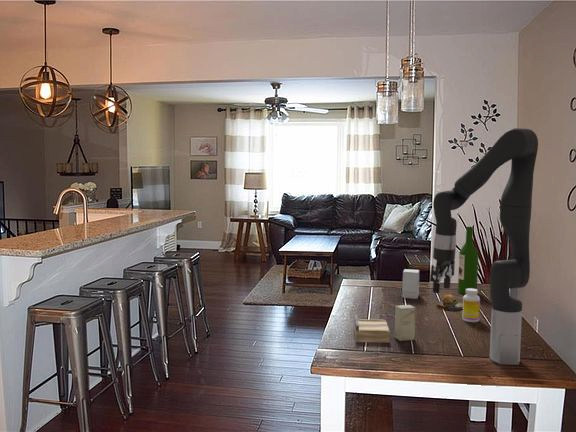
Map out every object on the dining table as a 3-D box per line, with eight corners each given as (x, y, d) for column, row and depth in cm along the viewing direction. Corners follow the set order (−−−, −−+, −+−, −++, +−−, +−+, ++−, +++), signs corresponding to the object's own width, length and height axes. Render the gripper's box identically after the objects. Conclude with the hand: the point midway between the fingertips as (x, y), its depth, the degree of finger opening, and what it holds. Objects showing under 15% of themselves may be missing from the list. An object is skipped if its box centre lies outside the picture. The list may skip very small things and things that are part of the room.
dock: (389, 342, 197) (389, 326, 196) (355, 341, 198) (356, 325, 197) (385, 330, 211) (385, 315, 210) (354, 329, 212) (354, 314, 211)
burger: (469, 309, 241) (470, 293, 240) (447, 312, 237) (448, 295, 236) (452, 302, 252) (452, 287, 251) (430, 305, 248) (431, 289, 247)
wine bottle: (454, 291, 273) (456, 226, 269) (469, 289, 275) (471, 225, 272) (465, 295, 264) (467, 228, 261) (480, 294, 267) (483, 227, 263)
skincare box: (399, 341, 199) (400, 308, 197) (393, 337, 203) (394, 305, 202) (415, 339, 200) (416, 307, 199) (409, 336, 205) (410, 304, 203)
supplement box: (417, 299, 258) (418, 272, 256) (401, 297, 260) (402, 271, 258) (419, 295, 265) (419, 269, 263) (403, 294, 267) (404, 268, 265)
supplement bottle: (480, 323, 220) (481, 291, 219) (463, 322, 221) (464, 291, 220) (478, 318, 227) (479, 288, 225) (461, 317, 228) (462, 287, 227)
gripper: (445, 251, 187) (442, 297, 190) (463, 245, 198) (459, 288, 200) (425, 247, 192) (422, 292, 194) (443, 242, 202) (440, 284, 205)
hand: (441, 290), depth 197 cm, fingers open, 8 cm apart
